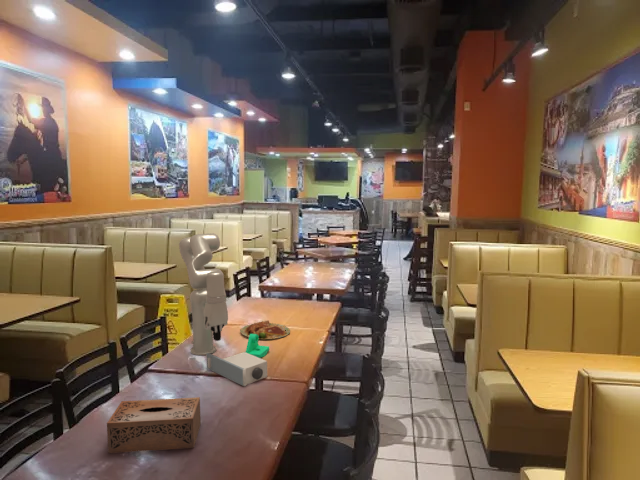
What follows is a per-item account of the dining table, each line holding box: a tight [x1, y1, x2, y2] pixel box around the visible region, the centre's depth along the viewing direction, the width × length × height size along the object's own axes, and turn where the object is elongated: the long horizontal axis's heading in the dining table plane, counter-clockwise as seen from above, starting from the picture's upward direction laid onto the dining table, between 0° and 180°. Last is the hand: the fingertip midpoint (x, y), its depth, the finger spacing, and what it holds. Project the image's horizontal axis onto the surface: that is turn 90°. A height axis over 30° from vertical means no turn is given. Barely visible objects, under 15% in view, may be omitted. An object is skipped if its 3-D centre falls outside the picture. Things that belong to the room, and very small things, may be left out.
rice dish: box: [239, 320, 291, 340], centre depth 256 cm, size 28×28×5 cm
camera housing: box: [223, 351, 268, 386], centre depth 197 cm, size 18×12×7 cm
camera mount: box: [245, 334, 270, 359], centre depth 222 cm, size 12×8×10 cm, turn 163°
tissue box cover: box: [106, 396, 202, 454], centre depth 148 cm, size 26×14×10 cm, turn 97°
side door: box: [205, 353, 247, 387], centre depth 195 cm, size 28×2×7 cm, turn 47°
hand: (217, 340), depth 202 cm, fingers closed
